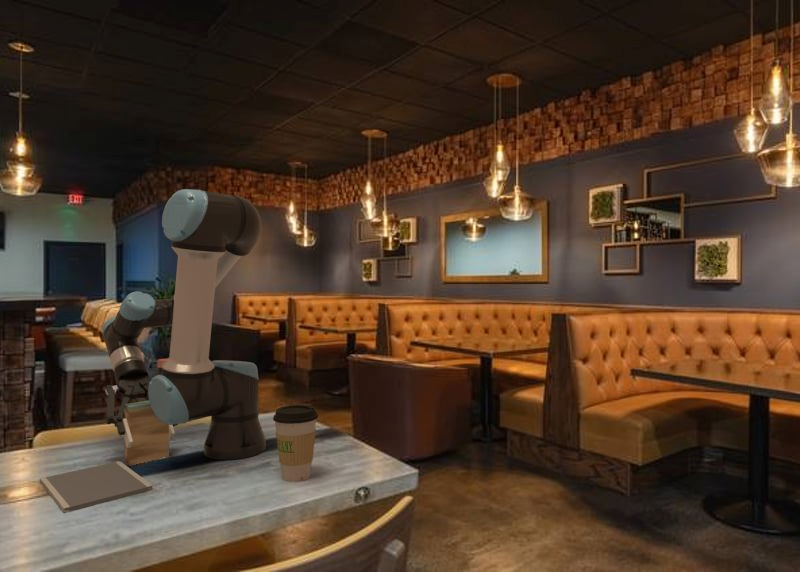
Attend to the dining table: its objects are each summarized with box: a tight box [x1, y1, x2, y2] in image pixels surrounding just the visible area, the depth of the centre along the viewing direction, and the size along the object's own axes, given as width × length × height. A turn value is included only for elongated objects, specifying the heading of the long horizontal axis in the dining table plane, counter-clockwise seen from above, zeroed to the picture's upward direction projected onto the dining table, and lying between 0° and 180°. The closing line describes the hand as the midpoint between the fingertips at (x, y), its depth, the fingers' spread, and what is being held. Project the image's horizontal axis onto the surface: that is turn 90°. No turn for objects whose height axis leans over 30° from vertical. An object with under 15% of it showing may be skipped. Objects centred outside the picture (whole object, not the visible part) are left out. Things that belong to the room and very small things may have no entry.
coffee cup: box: [272, 404, 319, 483], centre depth 118 cm, size 10×10×15 cm
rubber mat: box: [39, 460, 153, 514], centre depth 114 cm, size 22×16×1 cm
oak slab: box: [123, 400, 170, 467], centre depth 131 cm, size 4×9×14 cm, turn 134°
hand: (151, 440), depth 128 cm, fingers closed on oak slab, 9 cm apart
